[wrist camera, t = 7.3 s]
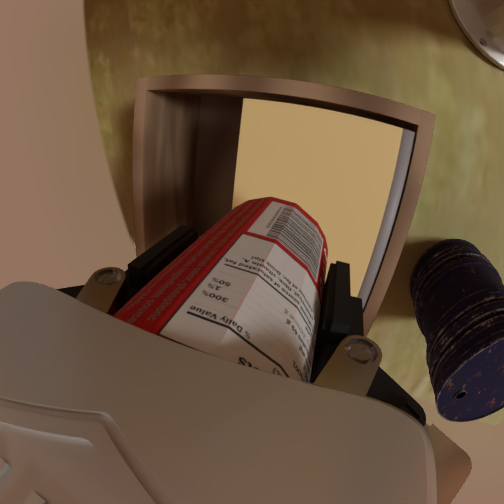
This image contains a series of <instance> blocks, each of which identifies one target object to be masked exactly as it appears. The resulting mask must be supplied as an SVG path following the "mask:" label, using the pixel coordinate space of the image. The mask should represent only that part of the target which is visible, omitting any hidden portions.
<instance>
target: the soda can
mask: <svg viewBox="0 0 504 504" xmlns="http://www.w3.org/2000/svg"><path fill="white" fill-rule="evenodd" d="M327 258H328V247H327V242H326V237H325V235H324V233H323V232H322V230H321V228H320V226H319V224H318V222H317V221H316V220H314V219H313V218H312V217H311V216H310V215H309V214H308V213H307V212H306V211H304V210H303V209H302V208H301V207H300V206H299V205H298V204H297V203H293V202H290V201H286V200H282V199H279V198H275V197H264V198H258V199H252V200H248V201H246V202H244V203H242V204H240V205H239V206H237V207H235V208H234V209H232V210H231V211H230V212H229V213H228V214H226V215H225V216H224V217H223V218H222V219H221V220H219V221H218V222H217V223H216V224H215V225H213V226H212V227H211V228H210V229H209V230H208V231H206V232H205V233H204V234H203V235H202V236H201V237H199V238H198V239H197V240H196V241H195V242H194V243H193V244H191V245H190V246H189V247H188V248H187V249H186V250H185V251H183V252H182V253H181V254H180V255H179V256H178V257H177V258H175V259H174V260H173V261H172V262H171V263H170V264H169V265H168V266H166V267H165V268H164V269H163V270H162V271H161V272H160V273H159V274H158V275H156V276H155V277H154V278H153V279H152V280H151V281H150V282H149V283H148V284H147V285H145V286H144V287H143V288H142V289H141V290H140V291H139V292H138V293H137V294H136V295H135V296H134V297H133V298H131V299H130V300H129V301H128V302H127V303H126V304H125V305H124V306H123V307H122V308H121V309H120V310H119V311H118V312H117V313H116V314H114V315H113V317H115V318H118V319H120V320H122V321H124V322H127V323H129V324H131V325H134V326H136V327H138V328H141V329H143V330H145V331H147V332H150V333H152V334H155V335H157V336H160V337H162V338H165V339H168V340H170V341H173V342H176V343H178V344H181V345H184V346H187V347H189V348H192V349H195V350H198V351H201V352H204V353H207V354H210V355H213V356H216V357H219V358H222V359H225V360H229V361H232V362H235V363H238V364H241V365H245V366H248V367H252V368H255V369H258V370H262V371H265V372H269V373H273V374H276V375H280V376H284V377H288V378H292V379H296V380H300V381H304V382H309V379H310V374H311V369H312V363H313V358H314V351H315V345H316V339H317V333H318V326H319V320H320V313H321V306H322V299H323V292H324V285H325V277H326V269H327Z"/></svg>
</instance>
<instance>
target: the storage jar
mask: <svg viewBox="0 0 504 504" xmlns="http://www.w3.org/2000/svg"><path fill="white" fill-rule="evenodd" d="M410 293H411V297H412V300H413V306H414V311H415V314H416V319H417V323H418V326H419V328H420V330H421V332H422V334H423V335H424V336H425V339H426V343H427V350H426V354H427V355H426V359H427V365H428V368H429V374H430V380H431V384H432V387H433V389H434V394H435V401H436V408H437V411H438V413H439V414H440V416H441V417H443V418H444V419H446V420H449V421H453V422H467V421H473V420H477V419H480V418H483V417H486V416H488V415H491V414H493V413H495V412H497V411H499V410H500V409H502V408H504V285H503V283H502V280H501V277H500V276H499V273H498V272H497V270H496V269H495V268H494V267H493V265H492V264H491V263H490V261H489V260H488V259H487V258H486V257H485V256H484V255H483V254H481V253H480V251H479V250H478V249H477V248H476V247H475V246H474V245H473V244H471V243H470V242H468V241H465V240H461V239H450V240H445V241H442V242H440V243H438V244H436V245H434V246H433V247H431V248H430V249H428V250H427V251H426V252H425V253H424V254H423V255H422V256H421V258H420V259H419V260H418V262H417V264H416V265H415V267H414V269H413V272H412V275H411V279H410Z"/></svg>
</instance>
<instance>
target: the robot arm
mask: <svg viewBox="0 0 504 504" xmlns="http://www.w3.org/2000/svg"><path fill="white" fill-rule="evenodd" d="M449 5H450V7H451V10H452V12H453V15H454V17H455V19H456V20H457V22H458V24H459V26H460V27H461V29H462V30H463V32H464V33H465V35H466V36H467V37H468V39H469V40H470V41H471V42H472V44H473V45H474V46H475V47H476V48H477V49H478V50H479V51H480V52H481V53H482V54H483V55H484V56H485V57H486V58H487V59H489V60H490V61H491V62H492V63H494V64H495V65H497V66H498V67H500V68H501V69H503V70H504V0H449ZM197 239H198V232H197V231H195V228H194V227H190V226H185V225H181V226H179V227H178V228H177V229H175V230H174V231H172V232H171V233H170V234H168V235H167V236H165V237H164V238H163V239H161V240H160V241H159V242H157V243H156V244H154V245H153V246H152V247H150V248H149V249H148V250H146V251H145V252H144V253H142V254H141V255H140V256H138V257H137V258H136V259H134V260H133V261H132V262H131V263H129V264H128V270H126V271H125V272H124V271H123V270H122V269H120V268H115V267H107V268H102V269H100V270H97V271H96V272H94V273H93V274H92V276H91V277H90V278H89V280H88V281H87V283H86V284H85V285H81V286H75V287H68V288H62V289H54V288H51V287H48V286H46V285H43V284H39V283H35V282H14V283H12V284H10V285H8V286H6V287H4V288H3V289H1V290H0V504H450V503H451V502H452V500H453V499H454V498H455V496H456V494H457V493H458V492H459V490H460V489H461V487H462V486H463V484H464V482H465V481H466V479H467V477H468V476H469V474H470V472H471V469H472V463H471V459H470V457H469V456H468V454H467V453H466V452H465V451H464V450H463V449H461V448H460V447H459V446H458V445H457V444H456V443H454V442H453V441H452V440H451V439H450V438H449V437H447V436H446V435H445V434H444V433H443V432H442V431H440V430H439V429H438V428H437V427H436V426H435V425H434V424H432V425H431V426H429V425H427V424H426V423H425V422H426V415H425V413H424V410H423V408H422V407H421V406H420V405H419V404H418V403H417V402H416V401H415V400H414V399H413V398H412V397H411V396H410V395H409V394H408V393H407V392H406V391H405V390H404V389H403V388H401V387H400V386H399V385H398V384H397V383H396V382H395V381H394V380H393V379H392V378H391V377H390V376H389V375H388V374H387V373H386V372H384V371H383V370H382V369H381V368H380V367H379V365H380V362H381V359H382V352H381V349H380V348H379V346H378V345H377V344H376V343H375V342H374V341H372V340H371V339H369V338H367V337H364V324H363V306H362V299H361V298H357V297H353V296H351V287H350V264H349V263H345V262H341V261H336V263H335V264H334V263H331V264H330V267H329V271H328V274H327V278H326V281H325V285H324V292H323V299H322V306H321V313H320V320H319V326H318V333H317V339H316V345H315V351H314V358H313V363H312V369H311V374H310V379H309V382H304V381H300V380H296V379H292V378H288V377H284V376H280V375H276V374H273V373H269V372H265V371H262V370H258V369H255V368H252V367H248V366H245V365H241V364H238V363H235V362H232V361H229V360H225V359H222V358H219V357H216V356H213V355H210V354H207V353H204V352H201V351H198V350H195V349H192V348H189V347H187V346H184V345H181V344H178V343H176V342H173V341H170V340H168V339H165V338H162V337H160V336H157V335H155V334H152V333H150V332H147V331H145V330H143V329H141V328H138V327H136V326H134V325H131V324H129V323H127V322H124V321H122V320H120V319H118V318H115V317H113V315H114V314H116V313H117V312H118V311H119V310H120V309H121V308H122V307H123V306H124V305H125V304H126V303H127V302H128V301H129V300H130V299H131V298H133V297H134V296H135V295H136V294H137V293H138V292H139V291H140V290H141V289H142V288H143V287H144V286H145V285H147V284H148V283H149V282H150V281H151V280H152V279H153V278H154V277H155V276H156V275H158V274H159V273H160V272H161V271H162V270H163V269H164V268H165V267H166V266H168V265H169V264H170V263H171V262H172V261H173V260H174V259H175V258H177V257H178V256H179V255H180V254H181V253H182V252H183V251H185V250H186V249H187V248H188V247H189V246H190V245H191V244H193V243H194V242H195V241H196V240H197Z"/></svg>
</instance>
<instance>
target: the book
mask: <svg viewBox="0 0 504 504" xmlns="http://www.w3.org/2000/svg"><path fill="white" fill-rule="evenodd" d="M414 139H415V132H413V131H410V130H406V129H403V128H400V127H396V126H393V125H389V124H386V123H382V122H379V121H375V120H371V119H367V118H363V117H359V116H355V115H350V114H346V113H341V112H336V111H331V110H326V109H321V108H315V107H310V106H304V105H297V104H290V103H283V102H275V101H267V100H257V99H247V98H244V99H243V108H242V117H241V125H240V135H239V144H238V153H237V163H236V172H235V182H234V193H233V203H232V209H234V208H235V207H237V206H239V205H240V204H242V203H244V202H246V201H248V200H252V199H258V198H264V197H275V198H279V199H282V200H286V201H290V202H293V203H297V204H298V205H299V206H300V207H301V208H302V209H303V210H304V211H306V212H307V213H308V214H309V215H310V216H311V217H312V218H313V219H314V220H316V221H317V222H318V224H319V226H320V228H321V230H322V232H323V233H324V235H325V237H326V242H327V247H328V258H327V269H326V277H325V281H326V278H327V274H328V271H329V267H330V264H331V263H334V264H335V263H336V261H341V262H345V263H349V264H350V287H351V296H353V297H357V298H361V299H362V306H363V310H364V307H365V305H366V302H367V300H368V297H369V295H370V292H371V290H372V287H373V284H374V282H375V279H376V276H377V273H378V271H379V268H380V265H381V262H382V259H383V256H384V253H385V250H386V247H387V244H388V241H389V238H390V235H391V231H392V228H393V225H394V222H395V218H396V215H397V211H398V208H399V204H400V200H401V196H402V193H403V189H404V185H405V181H406V176H407V172H408V168H409V163H410V159H411V154H412V149H413V144H414Z"/></svg>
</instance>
